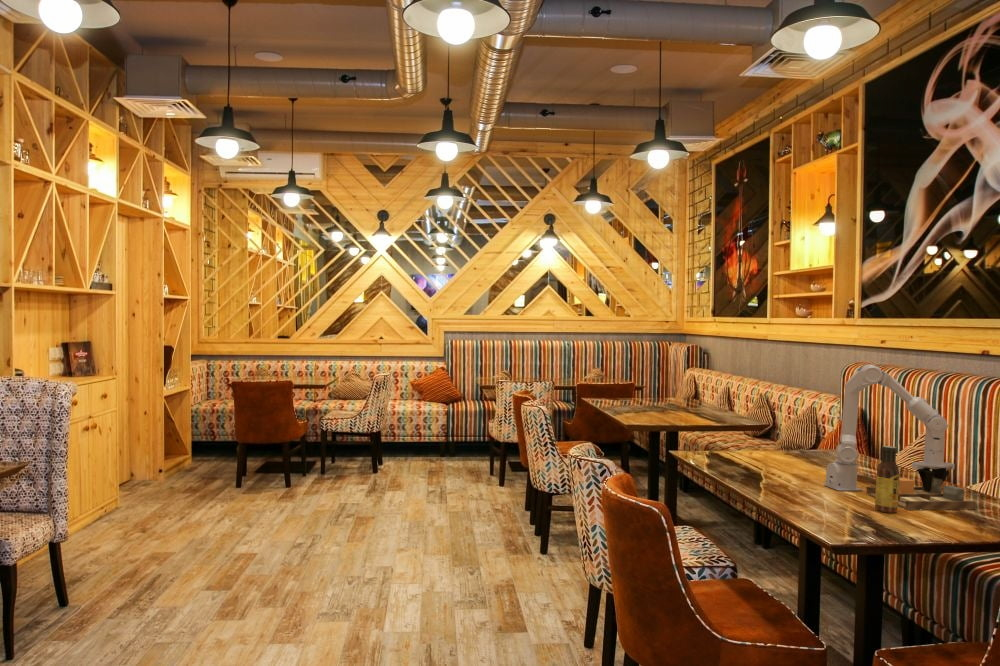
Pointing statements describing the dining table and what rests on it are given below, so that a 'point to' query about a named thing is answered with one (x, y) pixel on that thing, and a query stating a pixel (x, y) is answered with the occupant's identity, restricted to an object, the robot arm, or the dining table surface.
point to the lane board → (932, 499)
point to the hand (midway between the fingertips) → (931, 490)
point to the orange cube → (906, 486)
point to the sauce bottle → (887, 481)
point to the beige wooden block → (932, 487)
